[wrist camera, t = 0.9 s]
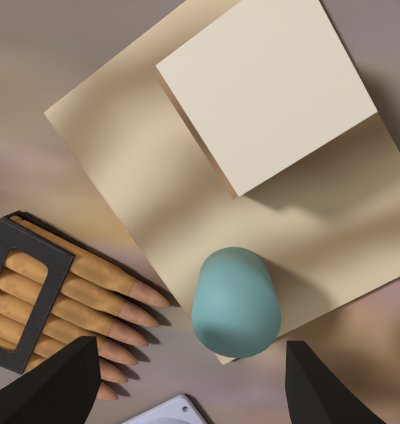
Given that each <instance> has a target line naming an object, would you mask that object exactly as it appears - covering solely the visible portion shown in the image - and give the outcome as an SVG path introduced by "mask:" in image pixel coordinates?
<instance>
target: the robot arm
mask: <svg viewBox="0 0 400 424" xmlns="http://www.w3.org/2000/svg"><path fill="white" fill-rule="evenodd" d="M101 382H102V379H101V371H100V363H99V354H98V346H97V337H96V336H80V337H78V338H77V339H75V340H73V341H72V342H71V343H69V344H68V345H66V346H65V347H63V348H62V349H61V350H59V351H58V352H56V353H55V354H53V355H52V356H51V357H49V358H48V359H46V360H45V361H43V362H42V363H41V364H39V365H38V366H36V367H35V368H33V369H32V370H30V371H29V372H27V373H26V374H24V375H23V376H21V377H20V378H18V379H17V380H15V381H14V382H12V383H10V384H9V385H7V386H6V387H4V388H3V389H1V390H0V424H84V423H85V421H86V419H87V417H88V415H89V413H90V411H91V409H92V407H93V404H94V401H95V399H96V396H97V393H98V391H99V388H100V385H101ZM285 390H286V396H287V402H288V408H289V413H290V419H291V422H292V424H386V423H385V422H384V421H383V420H381V419H380V418H379V417H378V416H376V415H375V414H374V413H373V412H372V411H371V410H370V409H368V408H367V407H366V406H365V405H364V404H363V403H362V402H361V401H360V400H359V399H358V398H356V397H355V396H354V395H353V394H352V393H351V392H350V391H349V390H348V389H347V388H346V387H345V386H344V385H343V384H342V383H341V382H340V380H339V379H338V378H337V377H336V376H335V375H334V374H333V373H332V372H331V371H330V370H329V369H328V368H327V367H326V365H325V364H324V363H323V362H322V361H321V360H320V359H319V357H318V356H317V355H316V354H315V353H314V352H313V351H312V349H311V348H310V347H309V346H308V345H307V344H306V343H305V342H304V341H287V351H286V379H285ZM184 406H186V407H188V408H185V407H184ZM122 424H207V422H206V421H205V420H204V418H203V417H202V416H201V414H200V413H199V412H198V410H197V409H196V408H195V406H194V405H193V404H192V402H191V401H190V400H189V398H188V397H187V396H185V395H179V396H177V397H175V398H173V399H171V400H169V401H166V402H164V403H162V404H160V405H158V406H156V407H154V408H152V409H150V410H148V411H146V412H144V413H142V414H140V415H138V416H136V417H134V418H132V419H130V420H128V421H126V422H124V423H122Z"/></svg>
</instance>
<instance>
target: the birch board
mask: <svg viewBox="0 0 400 424" xmlns="http://www.w3.org/2000/svg"><path fill="white" fill-rule="evenodd" d="M240 1H242V0H186V1H185V2H184V3H182V4H181V5H180V6H179V7H177V8H176V9H175V10H174V11H172V12H171V13H170V14H168V15H167V16H166V17H165V18H163V19H162V20H161V21H160V22H158V23H157V24H156V25H154V26H153V27H152V28H151V29H149V30H148V31H147V32H146V33H144V34H143V35H142V36H140V37H139V38H138V39H137V40H135V41H134V42H133V43H132V44H130V45H129V46H128V47H127V48H125V49H124V50H123V51H121V52H120V53H119V54H118V55H116V56H115V57H114V58H113V59H111V60H110V61H109V62H107V63H106V64H105V65H104V66H102V67H101V68H100V69H99V70H97V71H96V72H95V73H94V74H92V75H91V76H90V77H88V78H87V79H86V80H85V81H83V82H82V83H81V84H80V85H78V86H77V87H76V88H74V89H73V90H72V91H71V92H69V93H68V94H67V95H66V96H64V97H63V98H62V99H60V100H59V101H58V102H57V103H55V104H54V105H53V106H52V107H50V108H49V109H48V110H47V111H45V112H44V114H45V116H46V117H47V118H48V120H49V121H50V123H51V124H52V125H53V127H54V128H55V130H56V131H57V133H58V134H59V135H60V137H61V138H62V140H63V141H64V142H65V144H66V145H67V147H68V148H69V149H70V151H71V152H72V154H73V155H74V156H75V158H76V159H77V161H78V162H79V163H80V165H81V166H82V168H83V169H84V170H85V172H86V173H87V175H88V176H89V177H90V179H91V180H92V182H93V183H94V185H95V186H96V187H97V189H98V190H99V192H100V193H101V194H102V196H103V197H104V199H105V200H106V201H107V203H108V204H109V206H110V207H111V208H112V210H113V211H114V213H115V214H116V215H117V217H118V218H119V220H120V221H121V222H122V224H123V225H124V227H125V228H126V229H127V231H128V232H129V234H130V235H131V237H132V238H133V239H134V241H135V242H136V244H137V245H138V246H139V248H140V249H141V251H142V252H143V253H144V255H145V256H146V258H147V259H148V260H149V262H150V263H151V265H152V266H153V267H154V269H155V270H156V272H157V273H158V274H159V276H160V277H161V279H162V280H163V281H164V283H165V284H166V286H167V287H168V289H169V290H170V291H171V293H172V294H173V296H174V297H175V298H176V300H177V301H178V303H179V304H180V305H181V307H182V308H183V310H184V311H185V312H186V314H187V315H188V317H189V318H190V319H191V321H192V308H193V303H194V298H195V293H196V288H197V283H198V278H199V273H200V270H201V267H202V265H203V263H204V262H205V260H206V259H207V258H208V257H209V256H210V255H211V254H212V253H214V252H216V251H218V250H220V249H223V248H227V247H241V248H245V249H248V250H250V251H252V252H254V253H255V254H256V255H258V256H259V257H260V258H261V259H262V260H263V262H264V263H265V265H266V267H267V269H268V272H269V275H270V278H271V282H272V285H273V288H274V291H275V294H276V297H277V301H278V304H279V307H280V311H281V318H282V320H281V327H280V331H279V333H278V335H277V337H276V338H278V337H280V336H282V335H284V334H286V333H288V332H290V331H292V330H294V329H296V328H298V327H300V326H302V325H304V324H306V323H308V322H310V321H312V320H314V319H316V318H318V317H320V316H322V315H324V314H326V313H328V312H330V311H332V310H334V309H336V308H338V307H340V306H342V305H344V304H346V303H348V302H350V301H352V300H354V299H356V298H358V297H360V296H362V295H364V294H366V293H368V292H370V291H372V290H374V289H376V288H378V287H380V286H382V285H384V284H386V283H388V282H390V281H392V280H394V279H396V278H398V277H400V152H399V150H398V148H397V146H396V144H395V143H394V141H393V139H392V137H391V135H390V133H389V131H388V129H387V128H386V126H385V124H384V122H383V120H382V118H381V116H380V114H379V112H376V113H374V114H373V115H371V116H370V117H368V118H366V119H365V120H363V121H361V122H360V123H358V124H357V125H355V126H353V127H352V128H350V129H348V130H347V131H345V132H344V133H342V134H340V135H339V136H337V137H335V138H334V139H332V140H331V141H329V142H327V143H326V144H324V145H322V146H321V147H319V148H318V149H316V150H314V151H313V152H311V153H309V154H308V155H306V156H305V157H303V158H301V159H300V160H298V161H296V162H295V163H293V164H292V165H290V166H288V167H287V168H285V169H283V170H282V171H280V172H279V173H277V174H275V175H274V176H272V177H270V178H269V179H267V180H266V181H264V182H262V183H261V184H259V185H257V186H256V187H254V188H253V189H251V190H249V191H248V192H246V193H244V194H243V195H241V196H240V197H237V198H235V199H234V200H233V198H232V197H231V195H230V194H229V192H228V190H227V189H226V187H225V186H224V184H223V183H222V181H221V179H220V178H219V176H218V175H217V173H216V172H215V170H214V168H213V167H212V165H211V164H210V162H209V161H208V159H207V158H206V156H205V154H204V153H203V151H202V150H201V148H200V147H199V145H198V143H197V142H196V140H195V139H194V137H193V136H192V134H191V132H190V131H189V129H188V128H187V126H186V125H185V123H184V122H183V120H182V118H181V117H180V115H179V114H178V112H177V111H176V109H175V107H174V106H173V104H172V103H171V101H170V100H169V98H168V96H167V95H166V93H165V92H164V90H163V89H162V87H161V86H160V84H159V82H158V81H157V79H156V78H155V77H156V76H157V75H159V74H160V72H159V70H158V69H157V67H156V65H157V64H158V63H159V62H161V61H162V60H163V59H165V58H166V57H167V56H169V55H170V54H171V53H173V52H174V51H175V50H177V49H178V48H179V47H181V46H182V45H183V44H185V43H186V42H187V41H189V40H190V39H191V38H193V37H194V36H195V35H197V34H198V33H199V32H201V31H202V30H203V29H204V28H206V27H207V26H208V25H210V24H211V23H212V22H214V21H215V20H216V19H218V18H219V17H220V16H222V15H223V14H224V13H226V12H227V11H228V10H230V9H231V8H232V7H234V6H235V5H236V4H238V3H239V2H240ZM319 2H320V1H319ZM320 4H321V3H320ZM321 6H322V5H321ZM322 8H323V7H322ZM327 17H328V16H327ZM328 19H329V18H328ZM329 21H330V20H329ZM330 23H331V22H330ZM331 25H332V24H331ZM335 32H336V31H335ZM336 34H337V33H336ZM337 36H338V35H337ZM338 38H339V37H338ZM339 40H340V39H339ZM340 42H341V41H340ZM344 49H345V48H344ZM345 51H346V50H345ZM346 53H347V52H346ZM347 55H348V54H347ZM348 57H349V56H348ZM352 64H353V63H352ZM353 66H354V65H353ZM354 68H355V67H354ZM355 70H356V69H355ZM356 72H357V71H356ZM357 74H358V73H357ZM361 81H362V80H361ZM362 83H363V82H362ZM363 85H364V84H363ZM364 87H365V86H364ZM365 89H366V88H365ZM370 98H371V97H370ZM371 100H372V99H371ZM372 102H373V101H372ZM373 104H374V103H373ZM374 106H375V105H374ZM214 353H215V352H214ZM215 355H216V356H217V357H218V359H219V360H220V362H221V363H222V364H223V365H224V364H226V363H228V362H230V361H232V360H234V359H236V358H230V357H225V356H222V355H219V354H217V353H215Z"/></svg>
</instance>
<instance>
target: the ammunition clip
mask: <svg viewBox="0 0 400 424" xmlns="http://www.w3.org/2000/svg"><path fill="white" fill-rule="evenodd" d="M112 290H113V291H117V292H119V293H121V294H124V295H126V296H129V297H131V298H134V299H136V300H138V301H140V302H143V303H146V304H149V305H153V306H157V307H170V303H169V302H168V301H167V300H166V299H165V298H164V297H163V296H162V295H161V294H160V293H158V292H157V291H156V290H154V289H153V288H151V287H150V286H148V285H146V284H144V283H142V282H141V281H139V280H137V279H136V278H134V277H132V276H130V275H128V274H127V273H125V272H124V271H123V270H121V269H120V268H119V267H117V266H116V265H114V264H112V263H110V262H108V261H106V260H104V259H102V258H100V257H98V256H96V255H94V254H92V253H90V252H88V251H86V250H85V246H84V245H82V244H80V243H78V242H76V241H74V240H73V239H71V238H69V237H67V236H65V235H63V234H62V233H60V232H58V231H56V230H54V229H53V228H51V227H49V226H47V225H45V224H43V223H42V222H40V221H38V220H36V219H34V218H33V217H31V216H29V215H27V214H25V213H23V212H22V211H20V210H19V211H17V212H14V213H11V214H9V215H6V216H4V217H2V218H0V366H1V367H3V368H6V369H8V370H11V371H13V372H15V373H18V374H20V375H22V374H23V373H24V372H25V371H27V372H29V371H30V370H32V369H33V368H35V367H36V366H38V365H39V364H41V363H42V362H43V361H45V360H46V359H48V358H49V357H51V356H52V355H53V354H55V353H56V352H58V351H59V350H61V349H62V348H63V347H65V346H66V345H68V344H69V343H71V342H72V341H73V340H75V339H77V338H78V337H80V336H96V337H97V346H98V354H99V356H102V357H104V358H106V359H109V360H111V361H114V362H118V363H122V364H128V365H137V364H138V360H137V359H136V358H135V357H134V356H133V355H132V354H131V353H130V352H129V351H128V350H126V349H125V348H124V347H122V346H121V345H119V344H117V343H116V342H114V341H112V340H110V339H108V338H106V337H105V336H109V337H111V338H113V339H115V340H118V341H120V342H123V343H126V344H130V345H135V346H148V344H149V343H148V342H147V340H146V339H145V338H144V337H143V336H142V335H141V334H140V333H138V332H137V331H136V330H134V329H133V328H131V327H130V326H128V325H126V324H125V323H123V322H121V321H119V320H117V319H116V318H114V317H112V316H110V315H108V314H107V313H110V314H112V315H114V316H118V317H120V318H122V319H124V320H127V321H129V322H132V323H135V324H138V325H142V326H147V327H159V323H158V322H157V321H156V319H155V318H154V317H152V316H151V315H150V314H149V313H148V312H146V311H145V310H144V309H142V308H140V307H139V306H137V305H136V304H134V303H132V302H130V301H128V300H126V299H125V298H123V297H121V296H119V295H118V294H116V293H115V292H113V291H112ZM105 312H107V313H105ZM97 332H98V333H97ZM99 333H100V334H99ZM101 334H103V335H105V336H103V335H101ZM99 363H100V371H101V379H104V380H107V381H111V382H117V383H127V382H128V379H127V377H126V376H125V375H124V374H123V373H122V372H121V371H120V370H119V369H118V368H116V367H115V366H114V365H112V364H110V363H109V362H107V361H105V360H103V359H101V358H99ZM24 370H25V371H24ZM96 398H99V399H104V400H118V395H117V394H116V393H115V392H114V391H113V390H112V389H111V388H110V387H109V386H107V385H106V384H105V383H103V382H101V385H100V388H99V391H98V393H97V396H96Z"/></svg>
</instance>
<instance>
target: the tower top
mask: <svg viewBox="0 0 400 424" xmlns="http://www.w3.org/2000/svg"><path fill="white" fill-rule="evenodd" d="M156 67H157V69H158V70H159V72H160V73H161V75H162V76H163V78H164V80H165V81H166V83H167V84H168V86H169V87H170V89H171V91H172V92H173V94H174V95H175V97H176V98H177V100H178V102H179V103H180V105H181V106H182V108H183V110H184V111H185V113H186V114H187V116H188V117H189V119H190V121H191V122H192V124H193V125H194V127H195V128H196V130H197V132H198V133H199V135H200V136H201V138H202V139H203V141H204V143H205V144H206V146H207V147H208V149H209V150H210V152H211V154H212V155H213V157H214V158H215V160H216V161H217V163H218V165H219V166H220V168H221V169H222V171H223V173H224V174H225V176H226V177H227V179H228V180H229V182H230V184H231V185H232V187H233V188H234V190H235V191H236V193H237V195H238V196H239V197H240V196H241V195H243V194H244V193H246V192H248V191H249V190H251V189H253V188H254V187H256V186H257V185H259V184H261V183H262V182H264V181H266V180H267V179H269V178H270V177H272V176H274V175H275V174H277V173H279V172H280V171H282V170H283V169H285V168H287V167H288V166H290V165H292V164H293V163H295V162H296V161H298V160H300V159H301V158H303V157H305V156H306V155H308V154H309V153H311V152H313V151H314V150H316V149H318V148H319V147H321V146H322V145H324V144H326V143H327V142H329V141H331V140H332V139H334V138H335V137H337V136H339V135H340V134H342V133H344V132H345V131H347V130H348V129H350V128H352V127H353V126H355V125H357V124H358V123H360V122H361V121H363V120H365V119H366V118H368V117H370V116H371V115H373V114H374V113H376V112H378V111H377V109H376V107H375V106H374V104H373V102H372V100H371V98H370V96H369V94H368V92H367V90H366V89H365V87H364V85H363V83H362V81H361V79H360V77H359V75H358V74H357V72H356V70H355V68H354V66H353V64H352V62H351V60H350V58H349V57H348V55H347V53H346V51H345V49H344V47H343V45H342V43H341V42H340V40H339V38H338V36H337V34H336V32H335V30H334V28H333V26H332V25H331V23H330V21H329V19H328V17H327V15H326V13H325V11H324V9H323V8H322V6H321V4H320V2H319V0H242V1H240V2H239V3H238V4H236V5H235V6H234V7H232V8H231V9H230V10H228V11H227V12H226V13H224V14H223V15H222V16H220V17H219V18H218V19H216V20H215V21H214V22H212V23H211V24H210V25H208V26H207V27H206V28H204V29H203V30H202V31H201V32H199V33H198V34H197V35H195V36H194V37H193V38H191V39H190V40H189V41H187V42H186V43H185V44H183V45H182V46H181V47H179V48H178V49H177V50H175V51H174V52H173V53H171V54H170V55H169V56H167V57H166V58H165V59H163V60H162V61H161V62H159V63H158V64H157V65H156Z"/></svg>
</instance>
